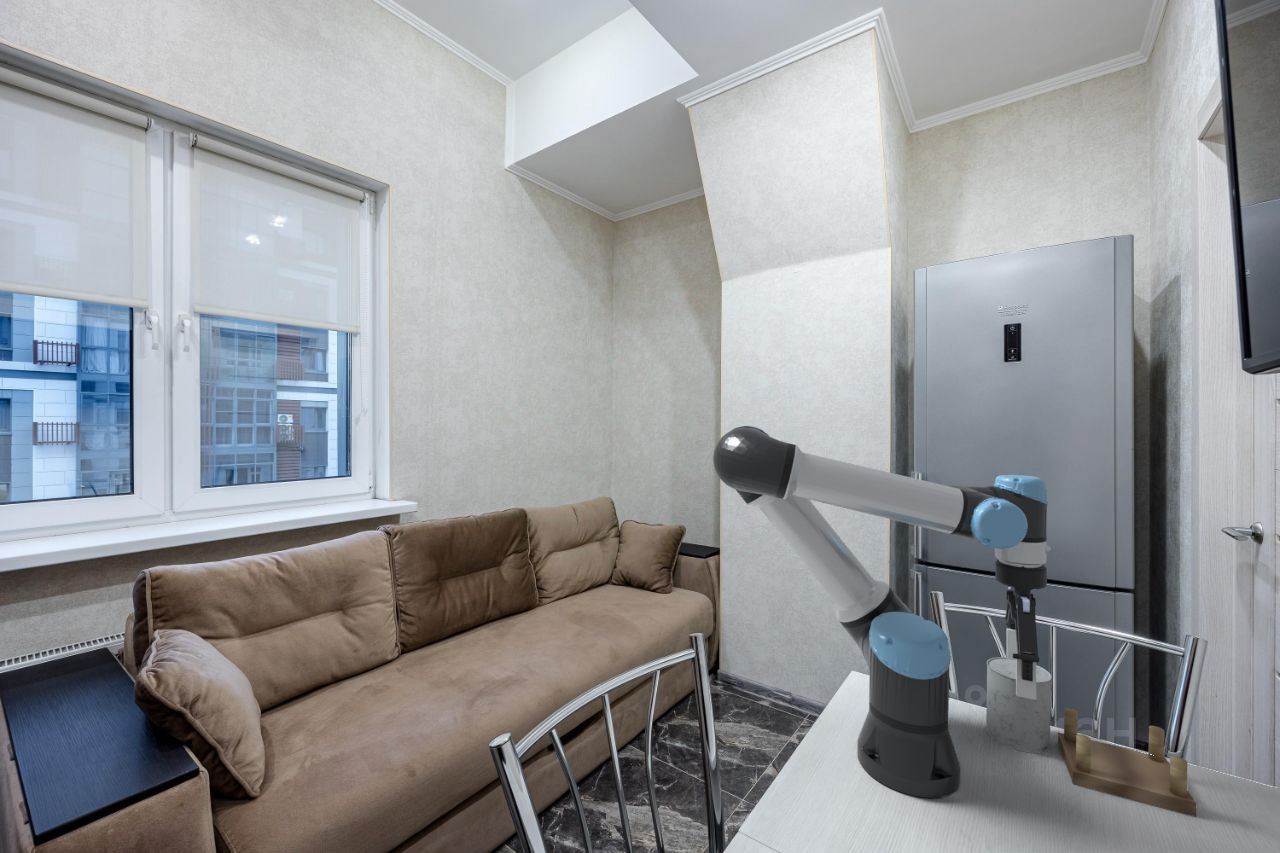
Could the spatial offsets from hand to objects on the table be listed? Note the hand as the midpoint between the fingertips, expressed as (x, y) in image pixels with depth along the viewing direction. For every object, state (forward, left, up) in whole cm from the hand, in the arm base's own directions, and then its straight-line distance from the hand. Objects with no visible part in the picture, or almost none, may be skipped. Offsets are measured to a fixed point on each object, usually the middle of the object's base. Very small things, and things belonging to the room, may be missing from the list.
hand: (1020, 679), depth 96 cm
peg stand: (+13, -5, -10) cm, 17 cm away
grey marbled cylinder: (0, 0, -11) cm, 11 cm away
